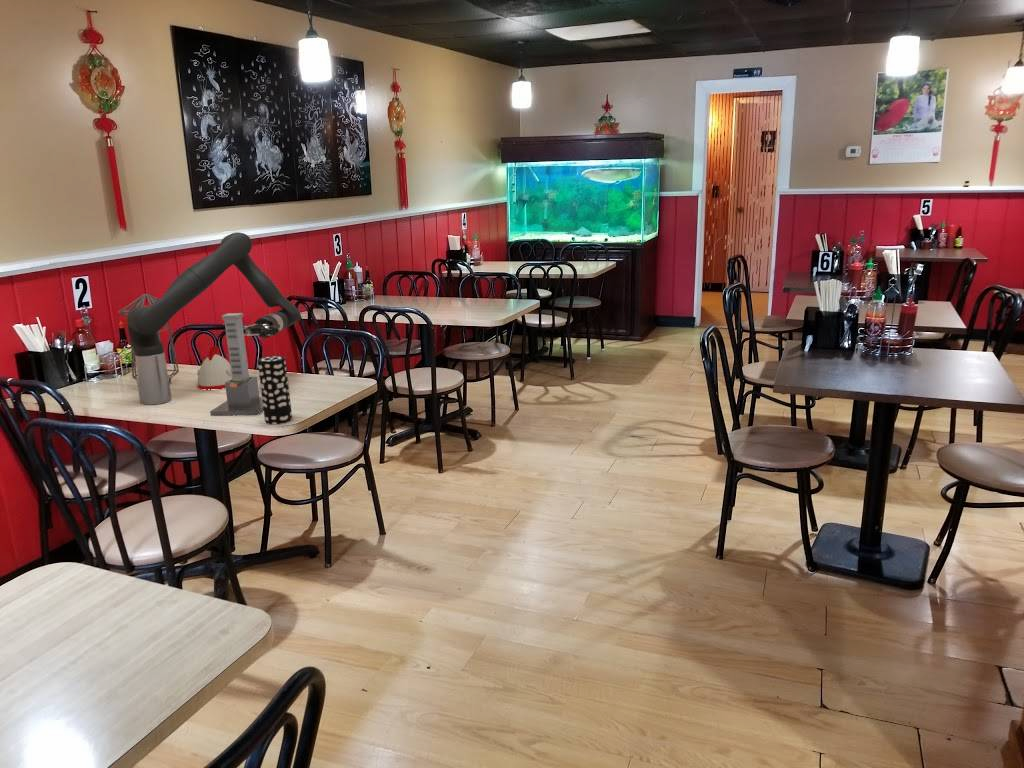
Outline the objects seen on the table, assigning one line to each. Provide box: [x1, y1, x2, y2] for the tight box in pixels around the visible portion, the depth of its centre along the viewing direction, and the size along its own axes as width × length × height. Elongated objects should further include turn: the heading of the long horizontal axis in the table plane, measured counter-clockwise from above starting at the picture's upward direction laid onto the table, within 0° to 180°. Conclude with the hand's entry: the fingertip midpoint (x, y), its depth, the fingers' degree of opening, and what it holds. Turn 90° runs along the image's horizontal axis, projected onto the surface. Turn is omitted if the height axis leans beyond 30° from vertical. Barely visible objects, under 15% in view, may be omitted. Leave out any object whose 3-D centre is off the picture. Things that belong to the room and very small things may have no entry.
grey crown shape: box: [196, 345, 232, 391], centre depth 284 cm, size 14×14×15 cm
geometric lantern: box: [118, 293, 180, 385], centre depth 283 cm, size 16×16×35 cm
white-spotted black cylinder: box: [257, 355, 293, 425], centre depth 238 cm, size 8×8×20 cm
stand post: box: [221, 312, 250, 382], centre depth 249 cm, size 5×5×23 cm
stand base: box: [209, 376, 264, 417], centre depth 253 cm, size 16×16×10 cm
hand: (249, 334), depth 259 cm, fingers open, 8 cm apart
